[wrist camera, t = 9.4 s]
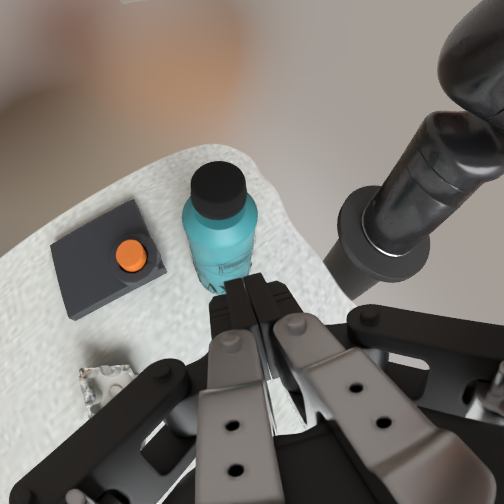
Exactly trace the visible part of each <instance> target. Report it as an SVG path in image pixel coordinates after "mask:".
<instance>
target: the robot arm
mask: <svg viewBox="0 0 504 504" xmlns="http://www.w3.org/2000/svg"><path fill="white" fill-rule="evenodd" d="M437 67H438V68H437V72H438V79H439V82H440V85H441V87H442V89H443V91H444V92H445V93H446V95H447V96H448V97H449V98H450V99H451V100H452V101H454V102H455V103H456V104H458V105H459V106H461V107H462V108H463V109H465V110H466V111H460V112H456V111H435V112H432V113H430V114H429V115H428V116H427V117H426V118H425V119H424V121H423V122H422V124H421V125H420V127H419V129H418V130H417V132H416V134H415V135H414V137H413V139H412V140H411V142H410V143H409V145H408V146H407V148H406V150H405V151H404V153H403V154H402V156H401V158H400V159H399V161H398V163H397V164H396V165H395V167H394V168H393V170H392V171H391V173H390V174H389V176H388V177H387V179H386V180H385V182H384V183H383V185H382V186H381V188H380V189H379V191H378V192H377V194H376V195H374V198H372V201H370V204H368V205H367V207H366V208H365V210H364V211H363V213H362V216H361V228H362V232H363V234H364V236H365V238H366V240H367V242H368V243H369V244H370V245H371V246H372V248H374V249H375V250H376V251H377V252H379V253H380V254H382V255H384V256H387V257H391V258H399V257H403V256H405V255H407V254H408V253H409V252H410V251H411V250H412V249H413V248H414V247H415V246H416V245H417V244H419V243H420V242H421V241H422V240H423V239H425V238H426V237H427V236H428V235H429V234H430V233H431V232H433V231H434V230H435V229H436V228H437V227H438V226H439V225H440V224H442V223H443V222H444V221H445V220H446V219H447V218H448V217H449V216H450V215H451V214H453V213H454V212H455V211H456V210H457V209H458V208H459V207H460V206H461V205H462V204H463V203H464V202H465V201H466V200H467V199H468V198H469V197H470V196H471V195H472V194H473V193H474V192H475V191H476V190H477V189H478V188H479V187H480V186H481V185H482V184H484V183H485V182H489V181H492V180H495V179H497V178H499V177H500V176H502V175H503V174H504V0H483V1H481V2H480V3H479V4H478V5H477V6H476V7H475V8H473V10H471V11H470V12H469V13H468V14H467V15H466V16H465V17H464V18H463V19H462V20H461V21H460V22H459V23H458V24H457V25H456V26H455V28H454V29H453V30H452V31H451V33H450V34H449V36H448V38H447V39H446V41H445V43H444V46H443V47H442V49H441V52H440V56H439V61H438V66H437ZM243 281H244V283H243ZM244 285H245V286H244ZM224 286H225V291H226V294H222V295H218V296H214V297H213V298H212V300H211V301H210V303H209V312H210V313H209V314H210V325H211V337H212V341H211V342H210V344H209V351H208V353H207V354H206V355H205V356H203V357H202V358H201V359H199V360H197V361H195V362H193V363H191V364H189V365H186V366H185V364H184V363H183V362H182V361H180V360H178V359H171V358H170V359H163V360H159V361H156V362H154V363H152V364H151V365H149V366H148V367H147V368H146V369H145V370H144V371H142V372H141V373H140V374H139V375H138V376H137V377H136V378H135V379H134V380H133V381H131V382H130V383H129V384H128V385H127V386H126V387H125V388H124V389H123V390H121V391H120V392H119V393H118V394H117V395H116V396H115V397H114V398H113V399H111V400H110V401H109V402H108V403H107V404H106V405H105V406H104V407H103V408H101V409H100V410H99V411H98V412H97V413H96V414H95V415H94V416H93V417H91V418H90V419H89V420H88V421H87V422H86V423H85V424H84V425H82V426H81V427H80V428H79V429H78V430H77V431H76V432H75V433H73V434H72V435H71V436H70V437H69V438H68V439H67V440H65V441H64V442H63V443H62V444H61V445H60V446H59V447H57V448H56V449H55V450H54V451H53V452H52V453H51V454H49V455H48V456H47V457H46V458H45V459H44V460H43V461H41V462H40V463H39V464H38V465H37V466H36V467H35V468H33V469H32V470H31V471H30V472H29V473H28V474H26V475H25V476H24V477H23V478H22V479H21V480H19V481H18V482H17V483H16V484H15V485H14V487H13V488H12V490H11V492H10V496H9V504H156V503H157V502H158V501H159V500H160V499H161V498H162V496H163V495H164V494H165V493H166V492H167V491H168V490H169V488H170V487H171V486H172V485H173V484H174V483H175V481H176V480H177V479H178V478H179V477H180V476H181V474H182V473H183V472H184V471H185V470H186V468H187V467H188V466H189V465H190V464H191V462H192V461H193V460H194V459H195V457H196V467H195V468H194V469H192V470H191V471H190V472H189V473H187V474H186V475H185V476H184V477H183V478H182V479H181V480H180V482H179V483H178V484H177V485H176V487H175V488H174V489H173V490H172V492H171V493H170V494H169V495H168V497H167V498H166V499H165V500H164V501H163V503H162V504H504V326H503V325H495V324H489V323H482V322H475V321H470V320H463V319H457V318H451V317H444V316H439V315H433V314H427V313H420V312H415V311H409V310H404V309H398V308H393V307H387V306H382V305H375V304H369V305H368V304H367V305H362V306H358V307H356V308H354V309H353V310H351V311H350V312H349V313H348V315H347V323H343V324H334V325H324V324H323V323H322V322H321V321H320V320H319V319H318V318H317V317H316V316H315V315H312V314H309V313H304V312H303V311H302V309H301V308H300V306H299V305H298V303H297V302H296V300H295V299H294V298H293V296H292V294H291V292H290V291H289V289H288V288H287V286H286V285H285V284H283V283H281V282H279V281H273V282H270V283H266V281H265V279H264V278H263V276H262V274H261V272H260V273H256V274H252V275H249V276H245V277H243V280H242V278H241V277H240V278H236V279H232V280H228V281H224ZM389 352H391V353H395V354H399V355H404V356H408V357H412V358H417V359H421V360H424V361H425V362H426V363H427V364H428V365H429V367H430V369H429V370H422V369H418V368H414V367H409V366H405V365H401V364H397V363H393V362H388V360H389ZM266 360H267V361H266ZM267 363H268V365H267ZM268 366H269V369H270V372H271V375H272V378H273V379H275V378H278V377H280V379H281V382H282V384H283V386H284V387H285V390H286V394H287V396H288V398H289V400H290V402H291V404H292V406H293V408H294V410H295V412H296V414H297V416H298V418H299V420H300V421H301V423H302V425H303V427H304V429H305V431H304V432H302V433H298V434H289V435H278V431H277V426H276V421H275V417H274V412H273V407H272V402H271V398H270V394H269V390H268V386H267V382H266V381H267V380H271V378H270V374H269V369H268ZM162 421H164V423H165V425H164V426H163V427H162V428H161V429H160V430H159V432H158V433H157V434H156V435H155V436H154V437H153V438H152V439H151V440H150V441H149V442H148V443H147V444H146V445H145V446H144V447H143V448H142V450H141V451H140V448H141V444H142V442H143V441H144V440H145V439H146V438H147V437H148V436H149V434H150V433H151V432H152V431H153V430H154V429H155V428H156V427H157V426H158V425H159V424H160V423H161V422H162Z"/></svg>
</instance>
